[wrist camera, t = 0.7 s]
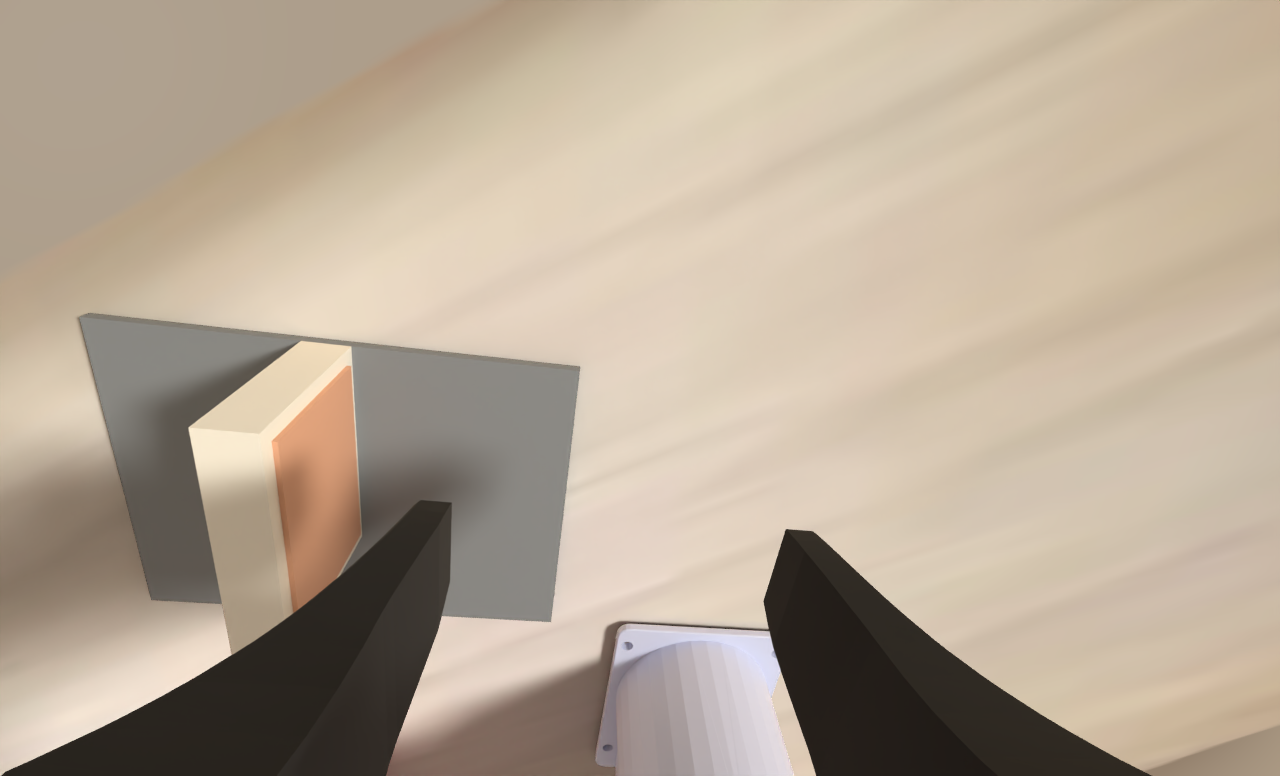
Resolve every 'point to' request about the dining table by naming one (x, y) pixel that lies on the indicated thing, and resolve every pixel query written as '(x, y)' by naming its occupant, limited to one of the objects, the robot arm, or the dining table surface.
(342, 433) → the block
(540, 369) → the mat
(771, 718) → the robot arm
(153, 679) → the dining table surface
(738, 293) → the dining table surface
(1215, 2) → the dining table surface
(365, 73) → the dining table surface
